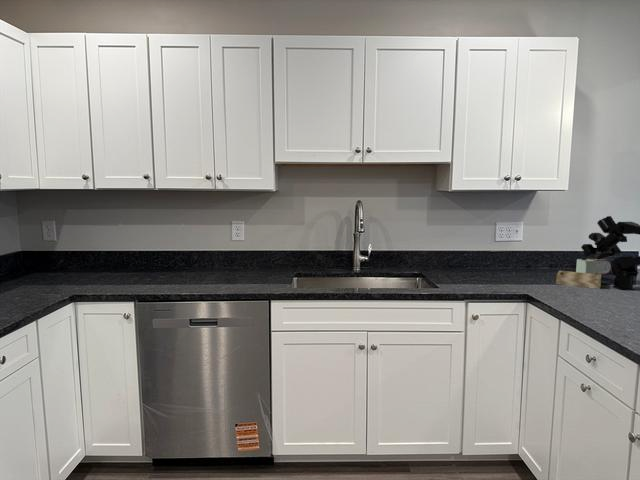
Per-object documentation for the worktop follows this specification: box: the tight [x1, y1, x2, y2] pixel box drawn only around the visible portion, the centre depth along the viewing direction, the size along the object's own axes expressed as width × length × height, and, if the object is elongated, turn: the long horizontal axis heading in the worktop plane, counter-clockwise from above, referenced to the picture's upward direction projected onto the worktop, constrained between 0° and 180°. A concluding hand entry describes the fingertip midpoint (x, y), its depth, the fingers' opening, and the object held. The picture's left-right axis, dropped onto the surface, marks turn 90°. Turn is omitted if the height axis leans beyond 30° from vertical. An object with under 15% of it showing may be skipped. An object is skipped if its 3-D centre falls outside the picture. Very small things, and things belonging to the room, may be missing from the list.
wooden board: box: [555, 270, 602, 290], centre depth 203 cm, size 18×14×4 cm
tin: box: [589, 258, 612, 275], centre depth 228 cm, size 15×3×8 cm, turn 84°
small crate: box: [575, 258, 596, 274], centre depth 214 cm, size 6×6×10 cm
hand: (590, 259), depth 211 cm, fingers open, 9 cm apart
